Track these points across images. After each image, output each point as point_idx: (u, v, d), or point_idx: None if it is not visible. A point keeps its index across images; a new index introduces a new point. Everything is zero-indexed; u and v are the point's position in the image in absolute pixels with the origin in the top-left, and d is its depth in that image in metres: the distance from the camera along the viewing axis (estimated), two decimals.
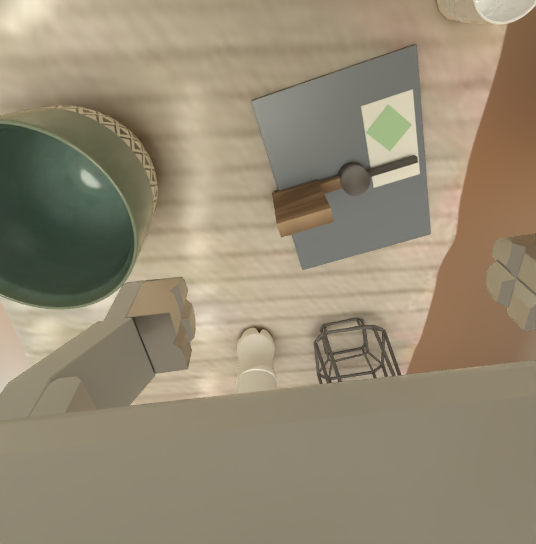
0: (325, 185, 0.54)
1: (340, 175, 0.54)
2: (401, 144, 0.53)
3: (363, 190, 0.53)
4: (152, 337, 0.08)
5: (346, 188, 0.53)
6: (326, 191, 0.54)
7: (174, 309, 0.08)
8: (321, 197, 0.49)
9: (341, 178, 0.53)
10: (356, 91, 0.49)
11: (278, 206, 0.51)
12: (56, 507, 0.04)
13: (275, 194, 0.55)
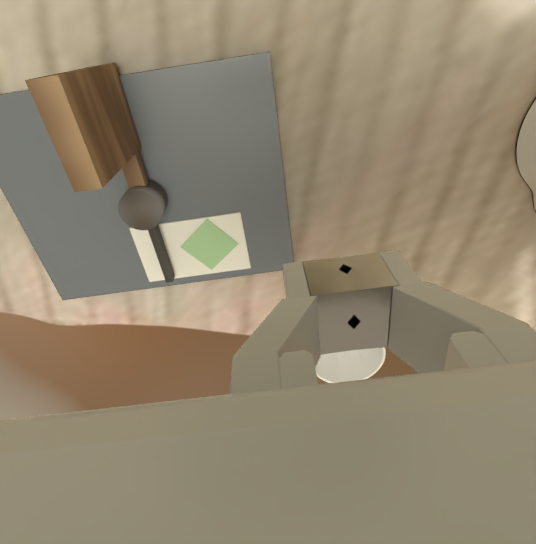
0: (133, 162, 0.34)
1: (149, 184, 0.36)
2: (187, 259, 0.42)
3: (127, 220, 0.35)
4: (329, 316, 0.08)
5: (129, 197, 0.34)
6: None
7: None
8: (117, 163, 0.29)
9: (145, 188, 0.35)
10: (259, 206, 0.39)
11: (94, 78, 0.27)
12: (56, 507, 0.04)
13: (113, 69, 0.30)
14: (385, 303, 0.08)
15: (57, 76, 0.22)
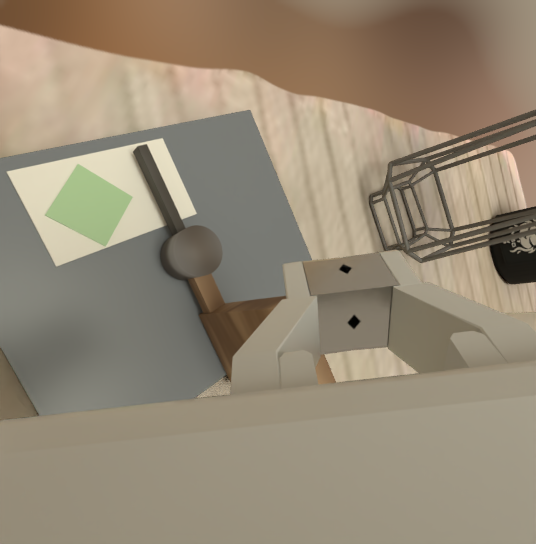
0: (210, 301, 0.30)
1: (187, 278, 0.30)
2: (117, 177, 0.29)
3: (210, 234, 0.30)
4: (329, 316, 0.08)
5: (212, 264, 0.29)
6: (219, 297, 0.31)
7: None
8: (244, 317, 0.26)
9: (194, 277, 0.29)
10: (26, 282, 0.25)
11: None
12: (56, 507, 0.04)
13: None
14: (385, 303, 0.08)
15: None
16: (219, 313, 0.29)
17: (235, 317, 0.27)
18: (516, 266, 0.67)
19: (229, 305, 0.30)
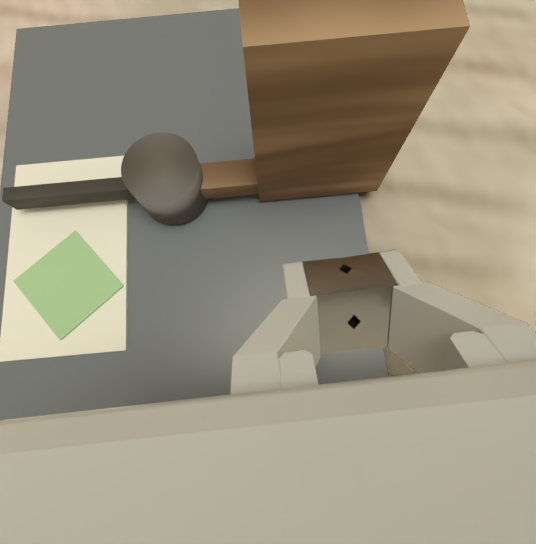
0: (242, 178, 0.20)
1: (201, 198, 0.21)
2: (46, 240, 0.22)
3: (144, 142, 0.20)
4: (329, 316, 0.08)
5: (186, 155, 0.19)
6: (241, 163, 0.21)
7: None
8: (264, 129, 0.15)
9: (197, 187, 0.20)
10: (132, 388, 0.20)
11: (395, 134, 0.17)
12: (56, 507, 0.04)
13: (372, 184, 0.21)
14: (385, 303, 0.08)
15: (467, 25, 0.11)
16: (257, 170, 0.19)
17: (263, 145, 0.16)
18: None
19: None
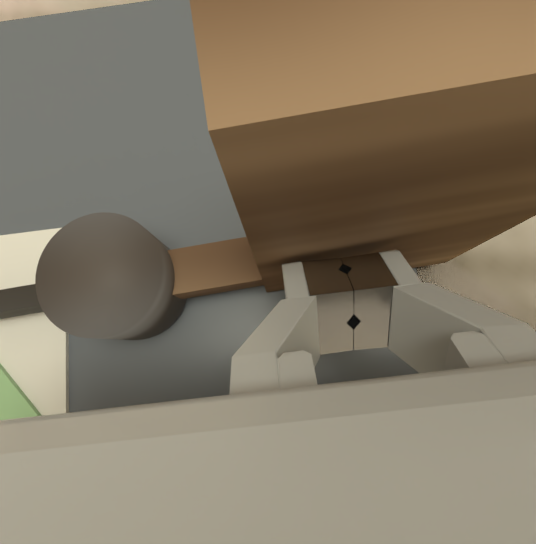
0: (237, 272, 0.13)
1: (176, 302, 0.13)
2: None
3: (71, 232, 0.12)
4: (329, 316, 0.08)
5: (142, 250, 0.12)
6: (235, 245, 0.13)
7: None
8: (274, 240, 0.08)
9: (166, 296, 0.12)
10: None
11: (519, 214, 0.09)
12: (56, 507, 0.04)
13: (443, 259, 0.13)
14: (385, 303, 0.08)
15: None
16: (262, 273, 0.11)
17: (273, 255, 0.09)
18: None
19: None
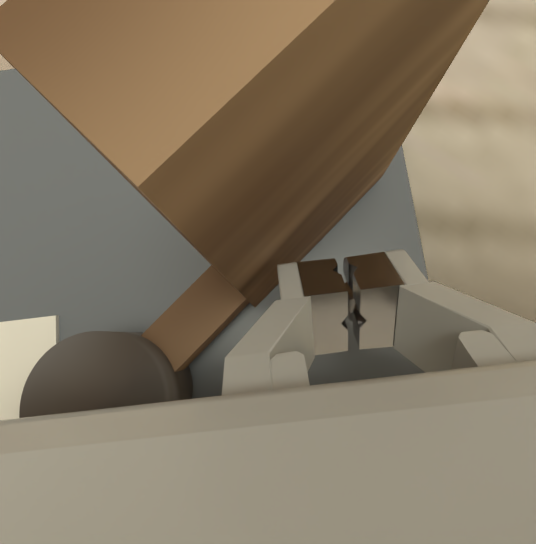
0: (218, 308, 0.12)
1: (182, 376, 0.12)
2: None
3: (35, 387, 0.10)
4: (323, 317, 0.08)
5: (118, 353, 0.10)
6: (199, 287, 0.12)
7: None
8: (245, 257, 0.07)
9: (171, 377, 0.11)
10: None
11: (428, 90, 0.09)
12: (56, 507, 0.04)
13: (380, 174, 0.13)
14: (391, 303, 0.08)
15: None
16: (245, 294, 0.10)
17: (249, 271, 0.08)
18: None
19: None
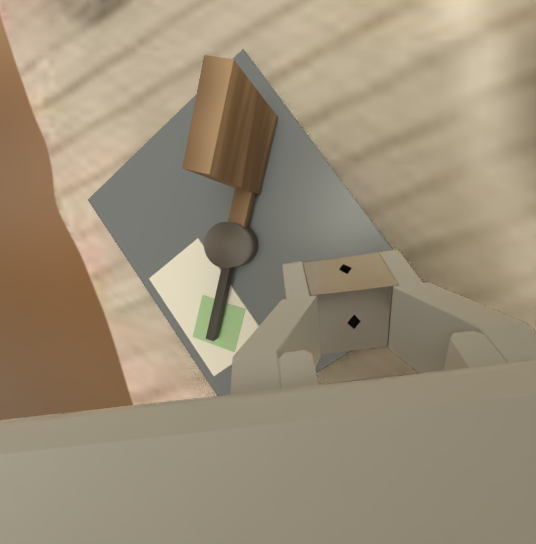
0: (245, 200, 0.33)
1: (247, 229, 0.33)
2: (192, 307, 0.37)
3: (207, 249, 0.32)
4: (329, 316, 0.08)
5: (223, 227, 0.32)
6: (235, 197, 0.33)
7: None
8: (234, 176, 0.27)
9: (243, 228, 0.32)
10: None
11: (257, 101, 0.28)
12: (56, 507, 0.04)
13: (274, 119, 0.32)
14: (385, 303, 0.08)
15: (232, 60, 0.22)
16: (247, 188, 0.31)
17: (239, 180, 0.29)
18: None
19: (234, 187, 0.31)
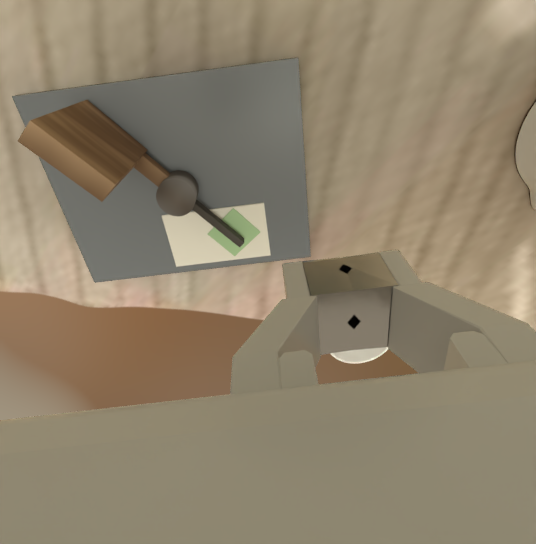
0: (147, 164, 0.38)
1: (171, 174, 0.39)
2: (213, 246, 0.46)
3: (173, 212, 0.39)
4: (329, 316, 0.08)
5: (161, 192, 0.38)
6: (141, 170, 0.38)
7: None
8: (124, 165, 0.33)
9: (168, 177, 0.38)
10: (281, 197, 0.42)
11: (69, 114, 0.32)
12: (56, 507, 0.04)
13: (87, 104, 0.35)
14: (385, 303, 0.08)
15: (30, 121, 0.27)
16: (138, 159, 0.36)
17: (128, 162, 0.34)
18: None
19: None
